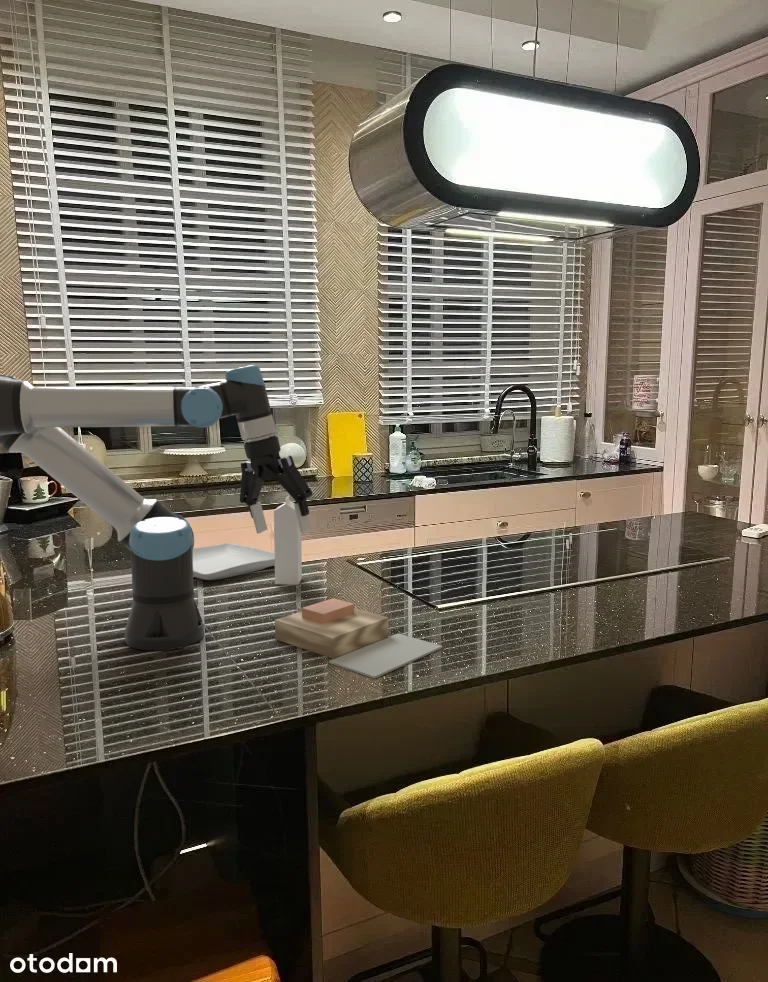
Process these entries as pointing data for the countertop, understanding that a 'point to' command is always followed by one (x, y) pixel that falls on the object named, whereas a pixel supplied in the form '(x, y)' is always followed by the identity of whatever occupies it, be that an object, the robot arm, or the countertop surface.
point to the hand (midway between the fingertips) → (283, 531)
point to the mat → (385, 655)
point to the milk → (287, 545)
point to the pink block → (327, 610)
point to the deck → (332, 632)
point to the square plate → (229, 561)
